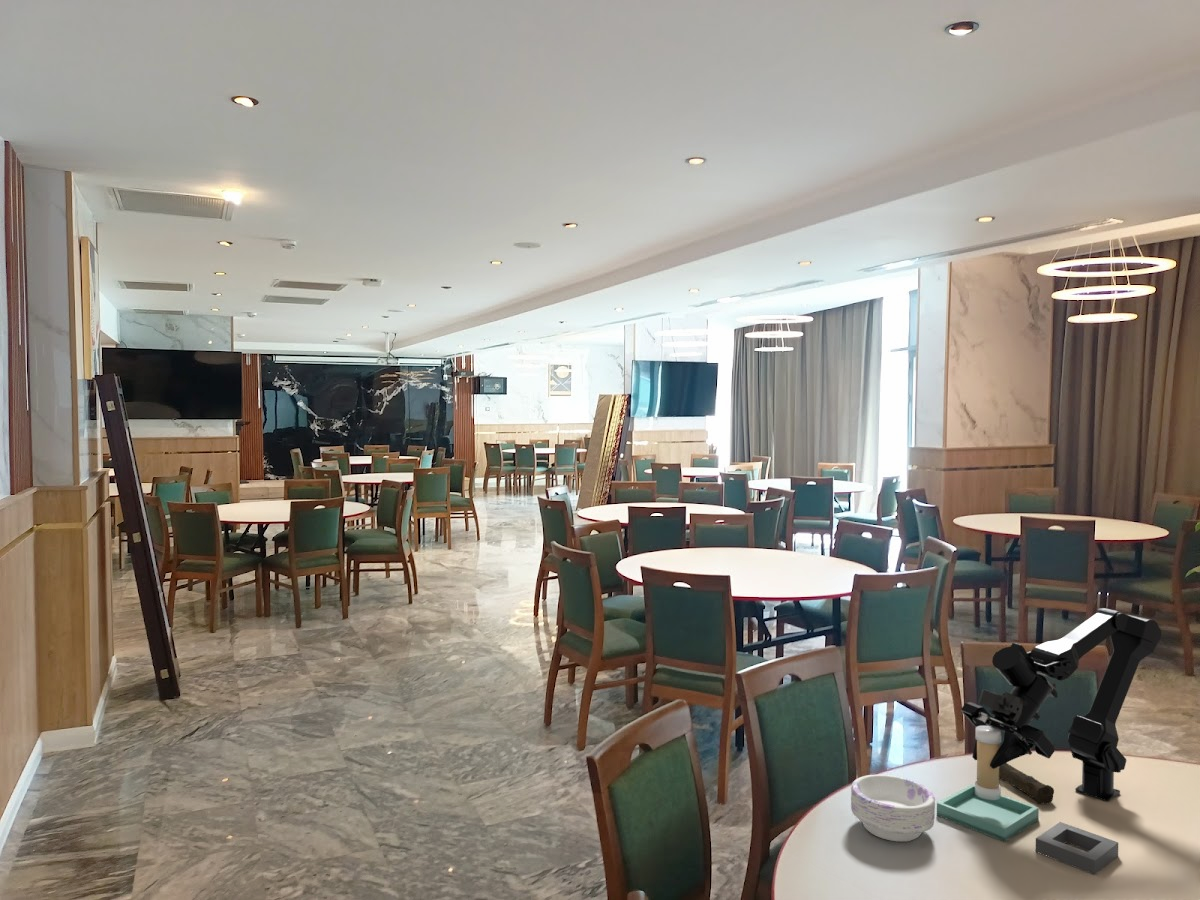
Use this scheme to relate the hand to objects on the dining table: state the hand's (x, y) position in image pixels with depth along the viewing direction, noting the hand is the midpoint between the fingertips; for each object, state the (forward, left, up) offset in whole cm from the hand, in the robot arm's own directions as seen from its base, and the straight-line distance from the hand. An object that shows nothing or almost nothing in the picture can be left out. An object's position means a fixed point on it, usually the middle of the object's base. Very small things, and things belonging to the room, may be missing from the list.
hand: (982, 762), depth 165 cm
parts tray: (-1, 0, -11) cm, 11 cm away
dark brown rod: (-20, -4, -12) cm, 23 cm away
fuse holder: (0, +17, -11) cm, 21 cm away
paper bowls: (+18, -9, -11) cm, 23 cm away
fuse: (-1, 0, -7) cm, 7 cm away
